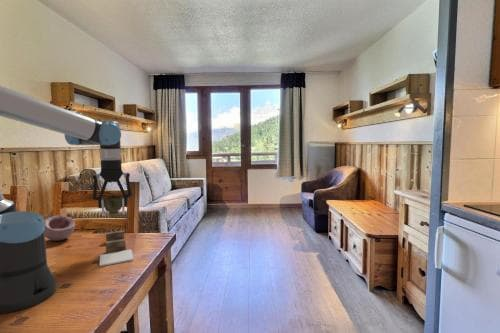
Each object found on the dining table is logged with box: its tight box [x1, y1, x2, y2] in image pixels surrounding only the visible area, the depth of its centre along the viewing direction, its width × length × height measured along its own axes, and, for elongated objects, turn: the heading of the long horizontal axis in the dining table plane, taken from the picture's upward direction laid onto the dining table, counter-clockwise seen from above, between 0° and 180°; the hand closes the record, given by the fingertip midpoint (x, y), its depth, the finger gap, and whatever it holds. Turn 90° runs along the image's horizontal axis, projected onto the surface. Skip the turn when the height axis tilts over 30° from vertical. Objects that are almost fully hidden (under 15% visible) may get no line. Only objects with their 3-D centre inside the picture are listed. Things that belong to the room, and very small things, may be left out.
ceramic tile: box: [99, 249, 135, 267], centre depth 101 cm, size 10×11×1 cm
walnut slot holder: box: [105, 229, 127, 254], centre depth 114 cm, size 7×14×4 cm, turn 28°
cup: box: [102, 194, 124, 217], centre depth 112 cm, size 8×7×8 cm
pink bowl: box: [43, 214, 76, 242], centre depth 121 cm, size 12×12×12 cm
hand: (113, 214), depth 112 cm, fingers closed on cup, 7 cm apart
